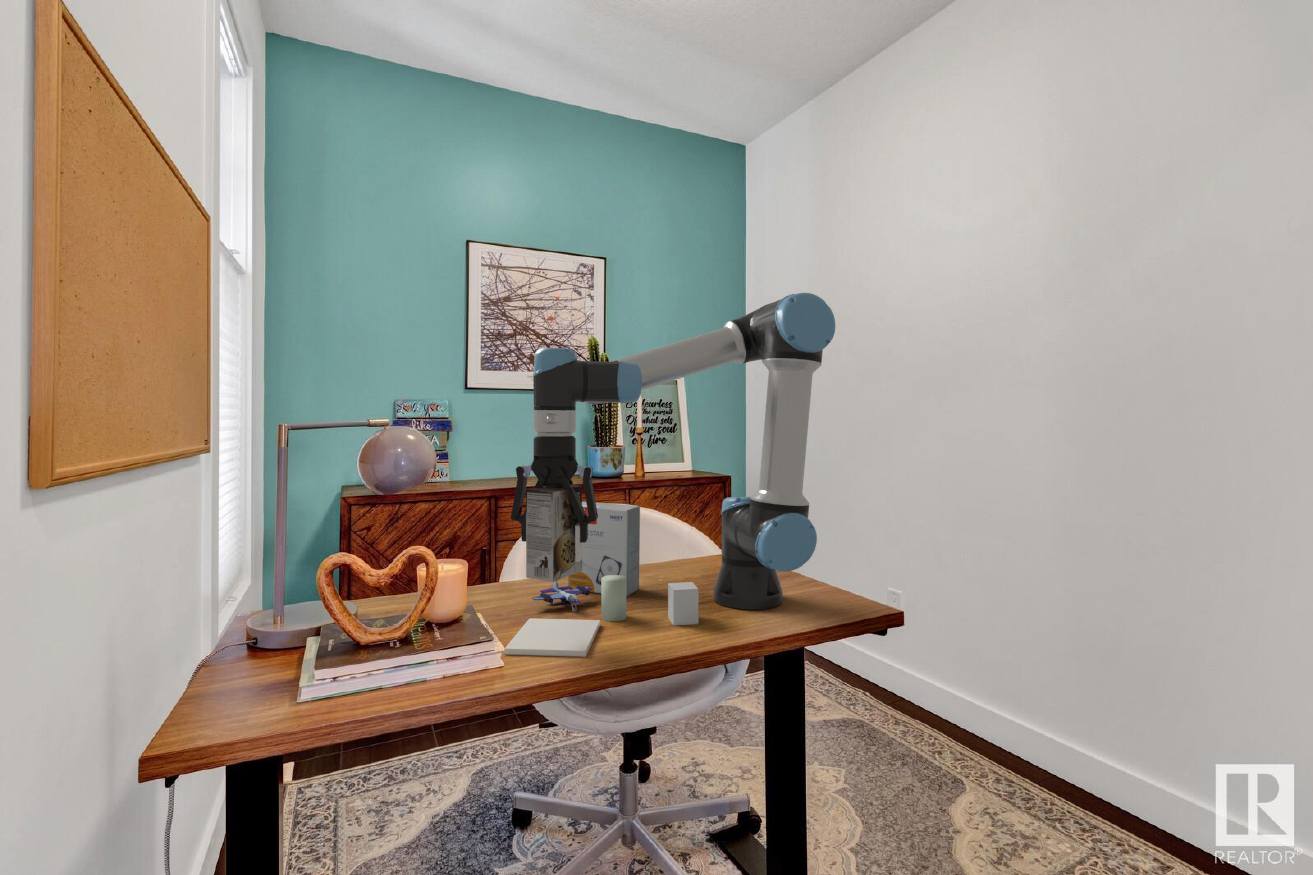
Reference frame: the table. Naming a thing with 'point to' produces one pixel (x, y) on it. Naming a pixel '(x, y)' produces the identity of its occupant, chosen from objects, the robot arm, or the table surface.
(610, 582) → the sage cylinder
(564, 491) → the grey product box
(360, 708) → the table surface
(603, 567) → the hard drive box
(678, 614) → the grey block
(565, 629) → the tile
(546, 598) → the toy airplane
